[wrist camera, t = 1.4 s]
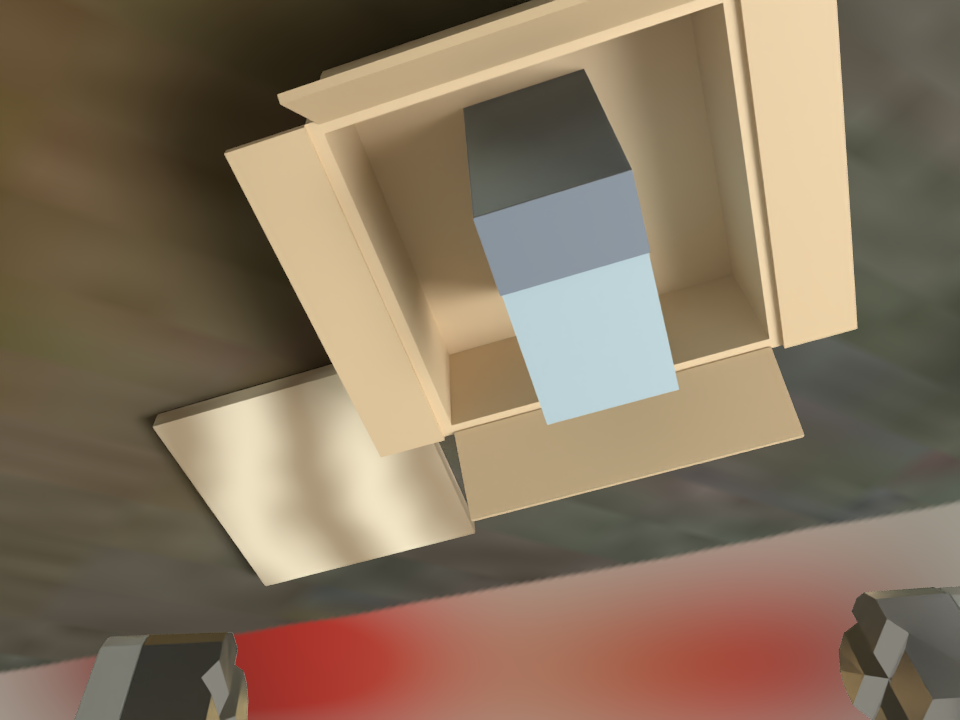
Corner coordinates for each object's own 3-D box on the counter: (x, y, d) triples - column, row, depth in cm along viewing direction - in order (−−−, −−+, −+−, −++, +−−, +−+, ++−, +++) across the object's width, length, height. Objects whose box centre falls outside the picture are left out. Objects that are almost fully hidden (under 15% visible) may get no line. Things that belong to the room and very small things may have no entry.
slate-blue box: (583, 68, 34) (632, 169, 26) (629, 256, 40) (681, 390, 31) (463, 108, 35) (472, 218, 27) (522, 287, 40) (546, 427, 32)
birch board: (394, 346, 42) (394, 357, 42) (474, 520, 50) (474, 533, 49) (157, 414, 44) (152, 426, 43) (268, 572, 52) (265, 586, 51)
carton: (763, -144, 31) (874, -107, 23) (807, 292, 42) (893, 416, 34) (229, 43, 34) (169, 132, 26) (401, 405, 45) (395, 543, 37)
